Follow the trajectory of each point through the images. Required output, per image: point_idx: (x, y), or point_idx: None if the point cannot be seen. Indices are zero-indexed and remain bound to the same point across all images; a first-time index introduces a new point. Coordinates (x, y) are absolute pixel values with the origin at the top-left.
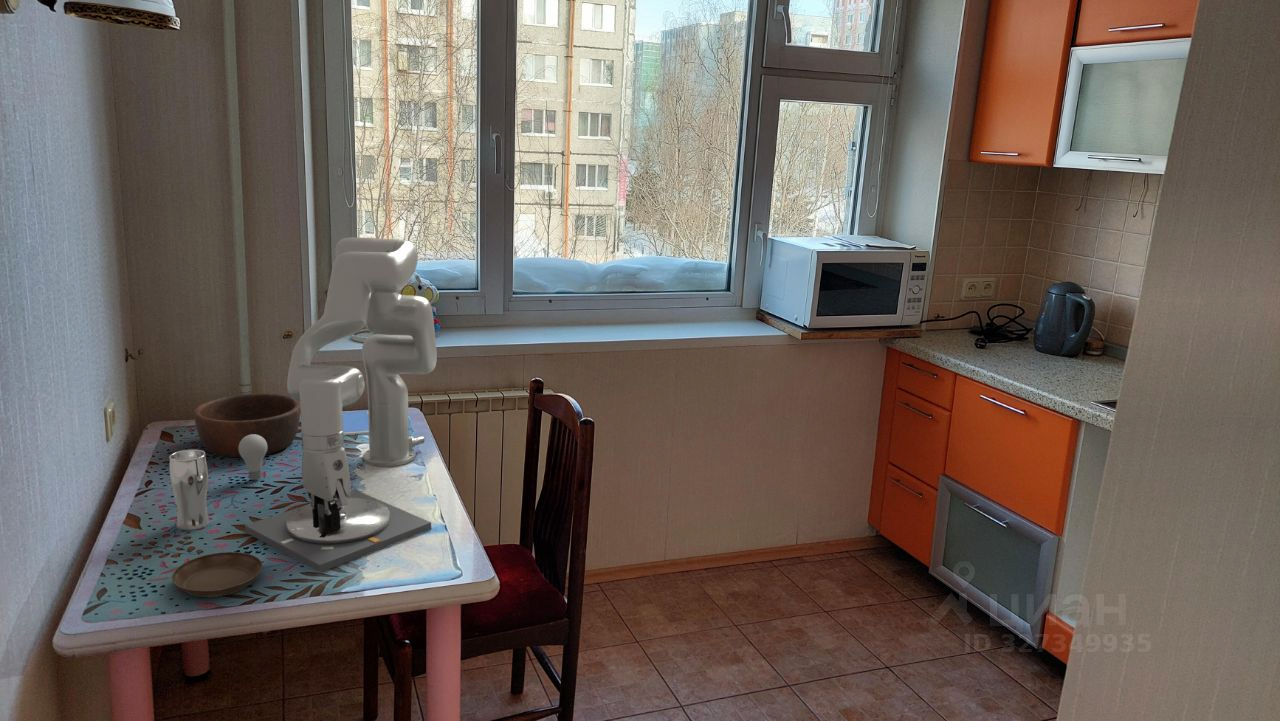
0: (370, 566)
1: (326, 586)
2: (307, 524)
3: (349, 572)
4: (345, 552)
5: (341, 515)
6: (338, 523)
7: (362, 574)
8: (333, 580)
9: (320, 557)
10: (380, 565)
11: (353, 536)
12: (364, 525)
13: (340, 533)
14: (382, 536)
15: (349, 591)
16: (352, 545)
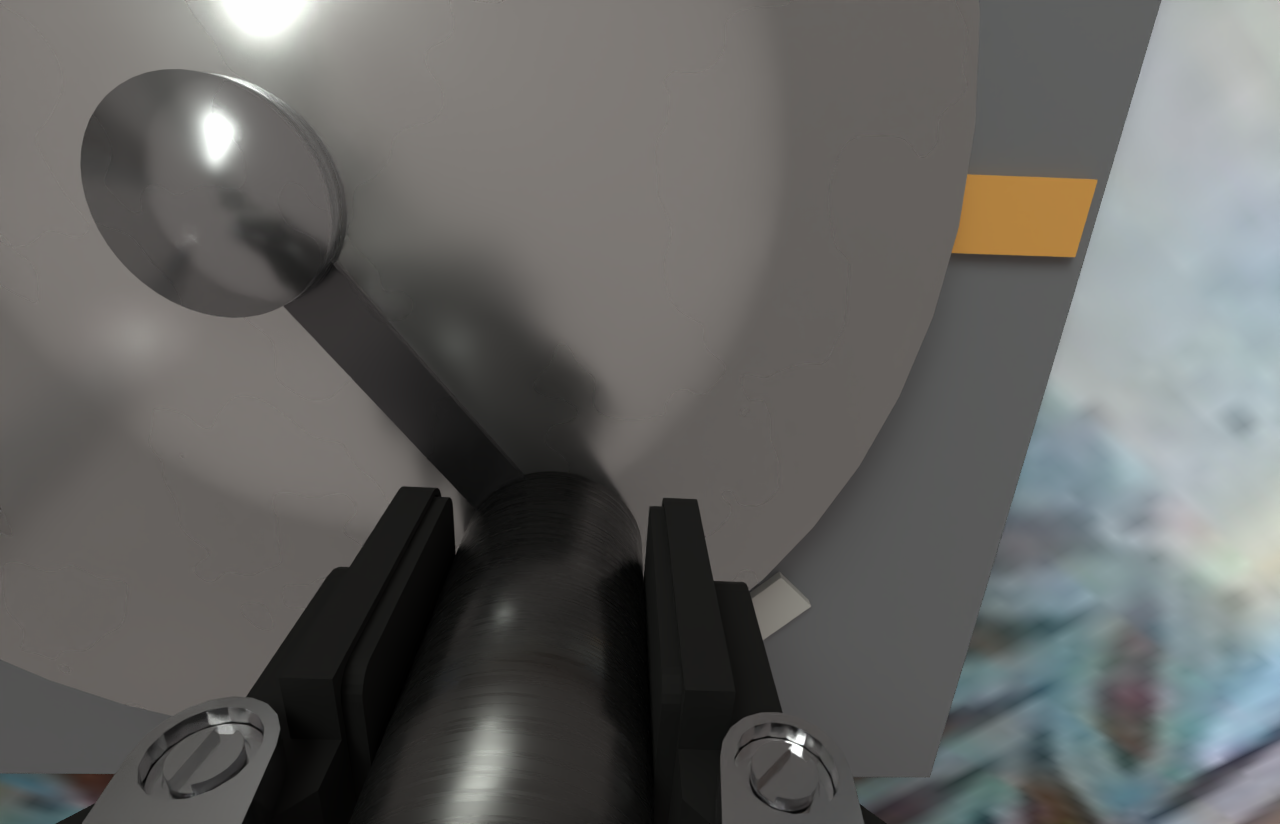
0: (1179, 469)
1: (1076, 784)
2: (232, 580)
3: (1087, 615)
4: (943, 562)
5: (286, 205)
6: (753, 609)
7: (1199, 579)
8: (1062, 728)
9: (833, 719)
10: (1252, 408)
11: (873, 421)
12: (773, 142)
13: (715, 489)
14: (1032, 64)
15: (1257, 743)
16: (891, 442)
